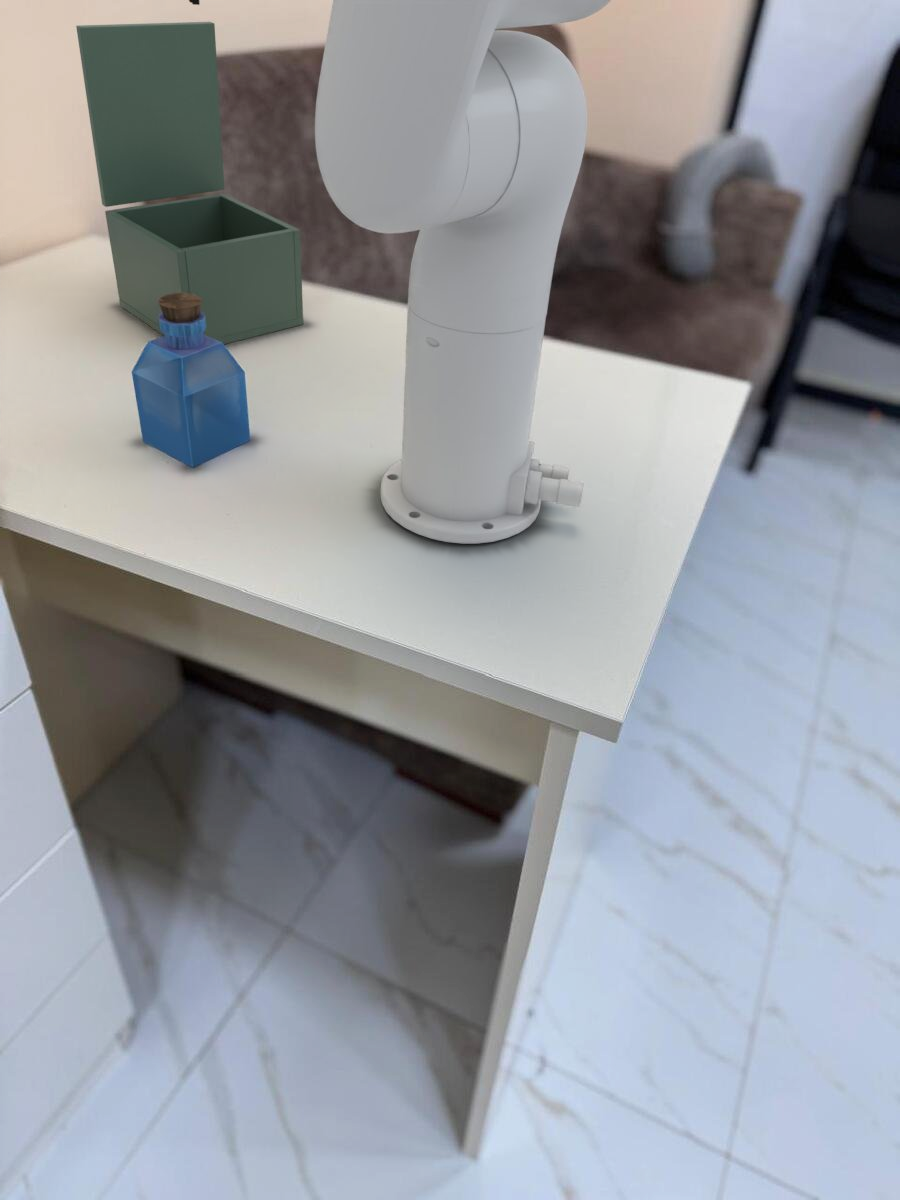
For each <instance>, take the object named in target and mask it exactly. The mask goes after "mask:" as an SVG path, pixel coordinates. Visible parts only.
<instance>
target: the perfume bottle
mask: <svg viewBox="0 0 900 1200" xmlns="http://www.w3.org/2000/svg"><path fill="white" fill-rule="evenodd" d="M158 302H159V305H160V308H161V310H162V312H161V313H160V314H159V317H158V318H159V325H160V330H161V332H163V333H164V334H165V336H163V335H162V336H161V337H157V338H155V339H152V340H149V341H147V342H146V344H145V346H144V347H143V350H142V352H141V353H140V356H139V357H138V358H137V361H136V363H135V365H134V367H133V368H132V371H131V376H132V382H133V383H132V384H133V390H134V394H135V395H134V396H135V400H136V401H135V402H136V407H137V414H138V419H139V425H140V432H141V438H142V442H143V443H145V444H147V445H149V446H151V447H153V448H154V449H156V450H159V451H160V452H163V453H164V454H166V455H168V456H170V457H172V458H173V459H175V460H177V461H179V462H181V463H183V464H185V465H187V466H189V467H190V468H195V467H197V466H199V465H202V464H204V463H206V462H208V461H210V460H212V459H214V458H217V457H219V456H221V455H223V454H225V453H227V452H230V451H231V450H233V449H236V448H237V447H240V446H242V445H244V444H246V443H248V442H250V441H251V432H250V421H249V420H250V419H249V408H248V395H247V383H246V372H245V370H244V369H243V368H242V367H241V365H240V364H239V362H238V361H237V360H236V359H235V358H234V356H233V355H232V354H231V352H230V351H229V349H228V348H227V346H226V345H225V344H223V343H222V342H220V341H217V340H215V339H213V338H210V337H208V336H206V335H203V332H204V331H205V330H206V320H205V314H204V313H203V312H202V311H200V308H201V298H200V297H199V296H197V295H194V294H190V293H171V294H167V295H164V296H162V297H161V298H159V300H158Z"/></svg>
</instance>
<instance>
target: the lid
mask: <svg viewBox="0 0 900 1200" xmlns="http://www.w3.org/2000/svg"><path fill="white" fill-rule="evenodd" d="M75 27H76V34H77V41H78V48H79V54H80V61H81V62H80V63H81V69H82V74H83V75H82V76H83V82H84V88H85V96H86V102H87V109H88V110H87V111H88V117H89V123H90V130H91V137H92V144H93V150H94V157H95V158H94V159H95V165H96V172H97V178H98V179H97V180H98V185H99V192H100V199H101V205H102V206H103V207H104V208H108V207H115V206H122V205H128V204H136V203H142V202H150V201H156V200H162V199H163V200H164V199H169V198H170V199H171V198H177V197H183V196H190V195H196V194H205V193H210V192H219V191H224V190H225V174H224V173H225V172H224V158H223V143H222V142H223V140H222V125H221V124H222V123H221V109H220V108H221V107H220V92H219V91H220V90H219V75H218V59H217V57H218V56H217V43H216V41H217V40H216V27H215V23H214V22H213V21H190V22H189V21H188V22H155V23H153V22H152V23H149V22H148V23H122V24H121V23H120V24H118V23H115V24H85V25H83V24H82V25H80V24H79V25H76V26H75Z"/></svg>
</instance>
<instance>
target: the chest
mask: <svg viewBox="0 0 900 1200" xmlns="http://www.w3.org/2000/svg"><path fill="white" fill-rule="evenodd" d="M104 213H105V218H106V219H105V220H106V226H107V232H108V237H109V245H110V250H111V256H112V262H113V263H112V264H113V269H114V273H115V275H114V276H115V281H116V288H117V293H118V301H119V306H120V307H121V308H123V309H124V310H125V311H127V312H129V314H131V315H133V316H134V317H135V318H137V319H139V320H140V321H142V322H143V323H144V324H146V325H147V326H149V327H150V328H152V329H153V330H155V332H157V333H159V334H161V335H162V337H163V336H165V334H164V333H163V332H161V330H160V325H159V318H158V317H159V314H160V313H161V312H162V310H161V308H160V305H159V302H158V300H159V298H161V297H162V296H164V295H167V294H171V293H190V294H194V295H197V296H199V297H200V298H201V308H200V311H202V312H203V313H204V314H205V320H206V330H205V331H204V332H203V335H206V336H208V337H210V338H213V339H215V340H217V341H220V342H222V343H223V344H224V345H226V344H230V343H231V344H232V343H235V342H238V341H239V342H240V341H242V340H247V339H250V338H254V337H258V336H262V335H265V334H266V335H267V334H270V333H274V332H279V331H282V330H287V329H290V328H293V327H298V326H302V325H304V306H303V305H304V304H303V275H302V273H303V272H302V251H301V250H302V247H301V246H302V245H301V229H299V228H297V227H294V226H293V225H291V224H289V223H287V222H285V221H282V220H280V219H278V218H276V217H274V216H272V215H270V214H268V213H265V212H263V211H261V210H259V209H257V208H255V207H253V206H252V205H249V204H246V203H244V202H243V201H240V200H238V199H237V198H234V197H232V196H230V195H228V194H226V193H217V194H210V195H203V196H196V197H189V198H183V199H182V198H181V199H176V200H175V199H174V200H170V201H169V200H168V201H163V202H155V203H149V204H143V205H135V206H128V207H121V208H115V209H109V210H105V211H104Z"/></svg>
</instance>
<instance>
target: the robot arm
mask: <svg viewBox="0 0 900 1200" xmlns="http://www.w3.org/2000/svg"><path fill="white" fill-rule="evenodd" d="M188 1H189V3H191V4H192V5H195V6H200V0H188ZM611 1H612V0H332V5H331V10H330V17H329V22H328V28H327V33H326V39H325V44H324V50H323V56H322V61H321V67H320V72H319V80H318V86H317V91H316V92H317V93H316V100H315V113H314V145H315V153H316V159H317V164H318V169H319V172H320V175H321V179H322V181H323V184H324V186H325V189H326V191H327V193H328V195H329V197H330V199H331V200H332V202H333V203H334V204H335V206H336V208H337V209H338V210H339V211H340V212H341V213H342V214H343V215H344V217H346V218H347V219H348V220H350V222H352V223H354V225H357V226H358V227H361V228H362V229H365V230H368V231H371V232H375V233H379V234H380V233H382V234H404V233H409V232H416V231H418V234H417V238H416V242H415V245H414V249H413V253H412V258H411V263H410V269H409V277H408V278H409V279H408V292H407V293H408V294H407V309H406V311H407V312H406V335H405V337H406V338H405V359H404V360H405V361H404V368H405V369H404V386H403V387H404V389H403V390H404V391H403V414H402V415H403V416H402V417H403V418H402V439H401V441H402V442H401V459H399V460H397V461H396V462H395V463H394V464H392V465H391V466H389V467H388V468H387V470H386V472H384V474H383V475H382V479H381V482H380V501H381V504H382V506H383V508H384V511H385V512H386V513H387V515H388V516H390V517H391V519H392V520H393V521H395V522H396V523H398V524H399V525H400V526H402V527H403V528H405V529H406V530H408V531H411V532H412V533H415V534H416V535H419V536H422V537H425V538H428V539H431V540H435V541H440V542H445V543H452V544H461V545H462V544H464V545H467V544H468V545H469V544H473V545H475V544H485V543H494V542H497V541H502V540H505V539H508V538H510V537H513V536H515V535H518V534H520V533H521V532H523V531H525V530H526V529H528V528H529V527H530V526H531V525H532V524H533V523H534V522H535V521H536V519H537V517H538V515H539V513H540V511H541V504H542V502H549V503H554V504H557V505H561V506H562V505H563V506H570V507H575V508H580V506H581V502H582V497H583V496H582V495H583V491H584V490H583V489H584V481H581V480H573V479H569V474H570V466H567V465H558V464H546V463H540V462H541V460H540V459H536V458H533V456H534V448H535V442H534V441H532V440H530V439H531V438H530V437H531V432H532V431H531V430H532V423H533V416H534V407H535V401H536V394H537V393H536V392H537V386H538V379H539V372H540V363H541V356H542V350H543V349H542V348H543V343H544V342H543V341H544V335H545V327H546V319H547V315H548V309H549V301H550V296H551V295H550V294H551V287H552V281H553V274H554V268H555V263H556V257H557V252H558V247H559V242H560V237H561V234H562V231H563V226H564V221H565V218H566V215H567V211H568V208H569V205H570V202H571V199H572V196H573V194H574V189H575V186H576V183H577V181H578V176H579V173H580V169H581V166H582V162H583V157H584V154H585V149H586V142H587V134H588V105H587V99H586V98H587V97H586V94H585V90H584V87H583V84H582V81H581V78H580V77H579V74H578V72H577V71H576V68H575V67H574V65H573V64H572V62H571V61H570V59H569V58H568V57H567V56H566V55H565V54H564V53H563V52H562V51H561V50H560V49H559V48H558V47H557V46H555V45H554V44H553V43H552V42H550V41H548V40H546V39H544V38H543V37H540V36H537V35H534V34H531V33H527V32H524V31H518V30H506V29H512V28H526V27H537V26H539V27H540V26H549V25H556V24H565V23H570V22H577V21H579V20H583V19H586V18H588V17H590V16H593V15H594V14H596V13H598V12H600V11H601V10H602V9H604V8H605V7H607V5H608V4H609V3H610V2H611Z"/></svg>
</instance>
